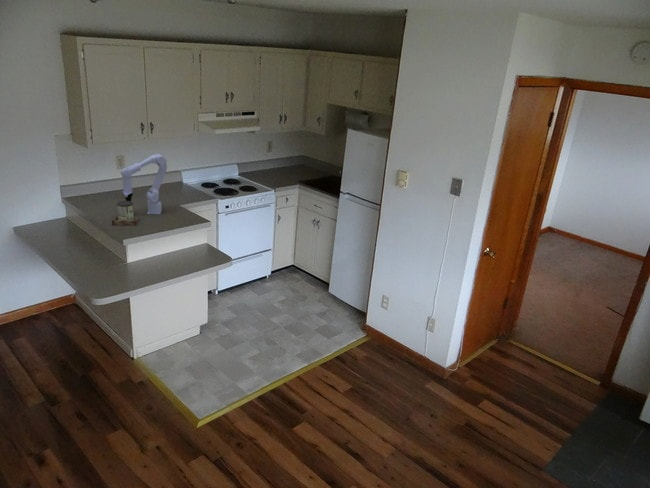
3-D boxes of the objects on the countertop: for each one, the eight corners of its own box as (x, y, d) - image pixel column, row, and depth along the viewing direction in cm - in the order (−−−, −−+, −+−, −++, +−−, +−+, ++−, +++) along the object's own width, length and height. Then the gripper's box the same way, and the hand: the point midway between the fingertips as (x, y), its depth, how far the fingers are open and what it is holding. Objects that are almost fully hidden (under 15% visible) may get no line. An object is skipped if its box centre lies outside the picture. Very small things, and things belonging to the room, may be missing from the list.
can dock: (139, 220, 354) (138, 216, 352) (136, 225, 344) (136, 221, 343) (115, 220, 351) (115, 216, 350) (112, 225, 342) (111, 221, 341)
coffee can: (121, 219, 354) (119, 200, 348) (136, 219, 354) (134, 201, 349) (116, 224, 344) (114, 204, 339) (131, 224, 345) (129, 205, 339)
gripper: (123, 182, 358) (125, 200, 363) (119, 188, 345) (120, 206, 350) (133, 182, 359) (135, 200, 364) (129, 188, 346) (131, 206, 351)
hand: (129, 203), depth 357 cm, fingers closed
